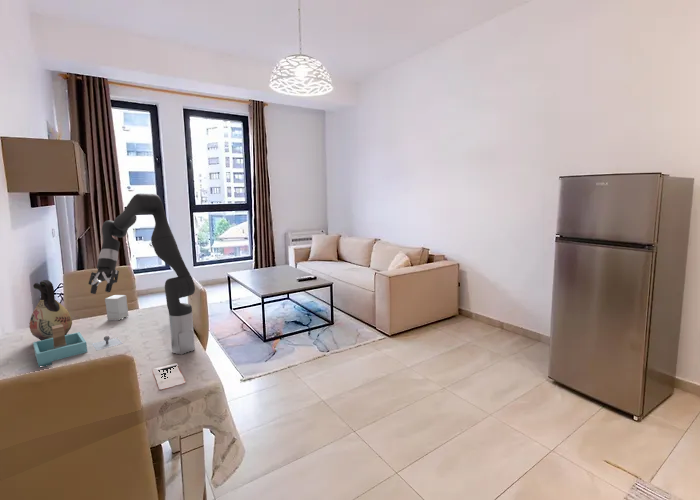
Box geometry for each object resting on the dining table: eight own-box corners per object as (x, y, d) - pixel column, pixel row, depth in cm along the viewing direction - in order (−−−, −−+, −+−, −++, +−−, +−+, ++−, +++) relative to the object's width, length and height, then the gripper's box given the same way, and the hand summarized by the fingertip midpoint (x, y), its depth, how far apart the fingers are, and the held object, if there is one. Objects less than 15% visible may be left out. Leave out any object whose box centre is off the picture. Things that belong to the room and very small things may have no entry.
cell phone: (159, 391, 124) (158, 389, 124) (152, 371, 139) (152, 369, 139) (186, 384, 130) (186, 381, 129) (177, 365, 144) (176, 362, 144)
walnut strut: (67, 352, 152) (64, 326, 150) (55, 355, 149) (52, 328, 147) (66, 350, 155) (62, 324, 153) (54, 353, 152) (50, 326, 150)
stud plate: (123, 346, 160) (122, 336, 160) (96, 353, 153) (95, 342, 153) (117, 340, 167) (116, 330, 166) (92, 346, 160) (90, 336, 159)
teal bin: (87, 355, 152) (86, 342, 151) (38, 368, 141) (36, 353, 140) (81, 344, 163) (79, 331, 162) (35, 355, 152) (33, 342, 151)
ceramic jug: (25, 342, 165) (16, 280, 160) (64, 331, 178) (56, 273, 174) (43, 350, 157) (33, 284, 152) (82, 337, 171) (74, 277, 166)
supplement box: (129, 316, 200) (126, 294, 198) (119, 320, 193) (117, 298, 191) (117, 315, 201) (114, 294, 199) (106, 320, 194) (104, 298, 192)
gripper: (88, 259, 168) (80, 292, 162) (113, 255, 165) (105, 289, 159) (103, 264, 175) (95, 296, 169) (126, 260, 172) (119, 293, 166)
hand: (100, 292), depth 164 cm, fingers open, 8 cm apart
